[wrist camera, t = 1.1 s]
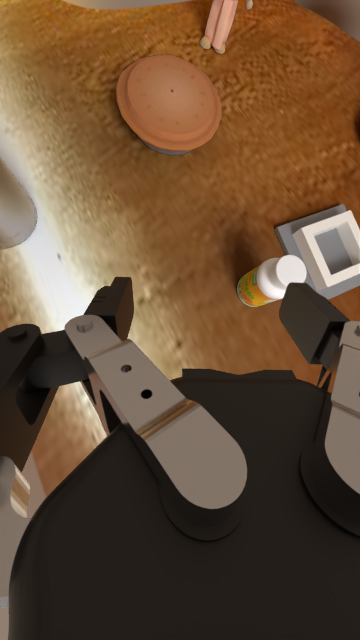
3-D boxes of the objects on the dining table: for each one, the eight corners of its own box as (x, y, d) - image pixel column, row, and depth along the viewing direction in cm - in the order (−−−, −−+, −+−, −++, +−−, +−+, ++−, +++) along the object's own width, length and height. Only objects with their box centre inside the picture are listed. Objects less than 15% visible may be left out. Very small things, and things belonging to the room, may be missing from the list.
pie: (232, 135, 40) (245, 106, 35) (165, 186, 36) (170, 161, 32) (170, 65, 39) (174, 25, 34) (97, 111, 36) (90, 73, 31)
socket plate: (274, 229, 39) (285, 219, 36) (339, 206, 42) (355, 196, 39) (308, 307, 38) (322, 304, 35) (372, 279, 41) (390, 273, 38)
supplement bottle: (232, 277, 37) (265, 252, 27) (263, 271, 38) (305, 245, 28) (241, 310, 36) (277, 297, 27) (272, 303, 37) (317, 288, 28)
